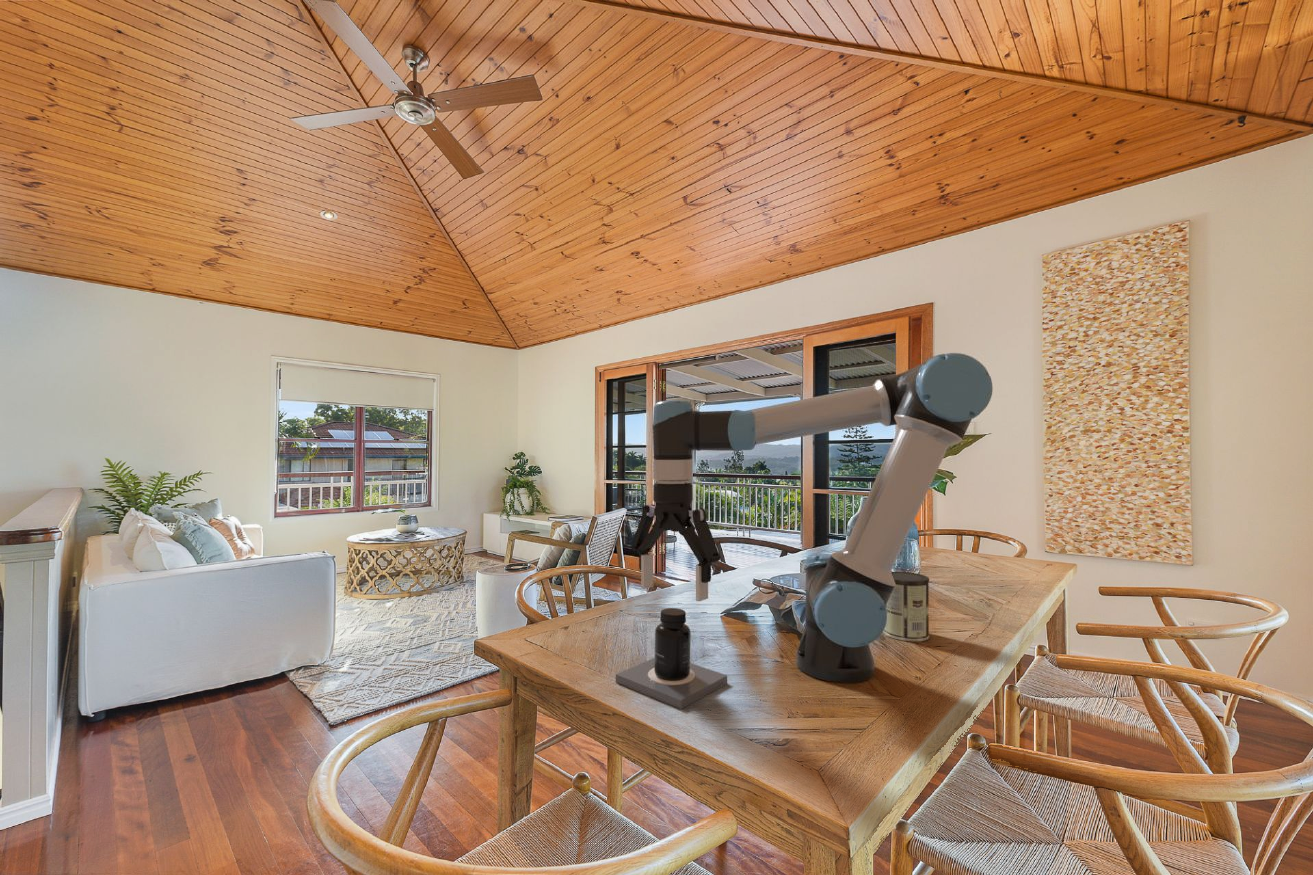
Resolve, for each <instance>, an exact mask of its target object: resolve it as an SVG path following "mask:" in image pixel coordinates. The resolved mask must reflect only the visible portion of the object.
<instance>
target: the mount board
mask: <svg viewBox="0 0 1313 875" xmlns="http://www.w3.org/2000/svg"><path fill="white" fill-rule="evenodd" d="M654 661H655V657H653V658H651V659H649V660H645V661H644V662H642V663H639V664H637V665H633V666H632V667H630V668H627V669H624V670H623V671H620V672H618V673H616V674H615V683H616V684H619V685H622V686H624V687H627V688H629V689H631V690H634V691H637V692H638V693H641V694H643V695H645V696H648V697H650V698H653V699H655V700H658V701H661V702H663V703H664V704H668V705H670V706H672V707H675V708H677V709H679V710H682V709H684V708H686V707H687V706H689V705H691V704H693V703H694V702H696V701H698V700H700V699H701V698H703V697H705V696H707V695H708V694H711V693H712V692H714V691H716V690H718V689H720V688H721V687H723V686H725V685H727V684H728V675H727V674H724V673H721V672H719V671H716V670H712V669H710V668H706V667H704V666H700V665H698V664H694V663H692V662H690V674H689V676H688V677H687V678H685V679H683V680H679V681H667V680H663V679H660V678H659V677H657V676H656V674H655V671H654Z"/></svg>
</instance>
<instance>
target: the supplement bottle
mask: <svg viewBox="0 0 1313 875" xmlns="http://www.w3.org/2000/svg"><path fill="white" fill-rule="evenodd" d="M686 614H687V613H686V611H685V610H684V609H682V608H677V607H668V608H663V609H662V610H660V623H659V624H658V625H657V626H656V628H655V630H654V658H655V661H654V671H655V674H656V676H657V677H659V678H660V679H663V680H667V681H679V680H683V679H685V678H687V677H688V676H689V674H690V663H691V637H692V636H691V634H692V633H691V628H690V627H689V626H688V625H687V624H686V622H687V618H686Z"/></svg>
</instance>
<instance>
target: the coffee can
mask: <svg viewBox="0 0 1313 875" xmlns="http://www.w3.org/2000/svg"><path fill="white" fill-rule="evenodd" d="M891 574H892V576H893V579H894V581H895V586H894V589H893V591H892V593H891V595H890V597H889V600H888V602H887V604H886V609H887V622H886V626H885V629H884V631H883V632H882V634H884V635H885V636H886V637H889V638H892V639H895V640H899V641H904V642H911V643H912V642H916V643H917V642H918V643H919V642H924V641H927V640H929V638H930V634H929V633H930V632H929V630H930V628H929V627H930V625H929V624H930V621H929V620H930V619H929V618H930V617H929V615H930V613H929V612H930V610H929V607H930V606H929V604H930V603H929V600H930V599H929V597H930V596H929V594H930V593H929V591H930V590H929V587H930V586H929V582H930V578H929V577H928V576H927V575H925V574H920V573H917V572H911V571H891Z"/></svg>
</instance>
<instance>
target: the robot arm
mask: <svg viewBox="0 0 1313 875" xmlns="http://www.w3.org/2000/svg"><path fill="white" fill-rule="evenodd" d="M993 390H994V389H993V380H992V377H991V375H990V374H989V371H988V370H987V368H986V367H985V365H983V363H981V362H980V361H979V360H977V359H976V358H974V357H973V356H970V355H968V354H965V353H961V352H949V353H948V352H947V353H941V354H937V355H935V356H934V355H933V356H932V357H930V358H928V359H927V360H926V361H924V362H922V363H920V364H917V365H916V366H914V367H912V368H910V369H908V370H906V371H904V372H900V373H899V374H895V375H892V376H888V377H884V378H879V379H876V380H875V382H874V383H873V384H872V385H869V386H864V387H859V388H855V389H849V390H844V391H840V392H835V393H830V394H828V393H827V394H824V395H818V396H814V397H808V398H803V399H798V400H794V401H793V400H792V401H788V402H783V403H779V404H778V403H777V404H773V405H769V406H763V407H757V408H753V409H748V410H739V409H734V410H711V411H707V410H706V411H700V410H699V411H697V410H694V409H693V405H692V402H691V401H688V400H661V401H657V402H656V403H654V406H653V418H652V427H651V428H652V448H653V449H652V454H653V456H652V457H653V459H652V476H653V477H652V479H653V480H654V481H655V483H654V484H652V486H653V487H652V488H653V489H652V490H653V492H652V493H653V494H652V495H653V496H652V498H653V502H655V504H652V503H651V504H645V505H643V506H642V510H641V518H640V520H639V523H638V525H637V526H638V527H637V529H636V531H635V534H634V537H633V539H632V542H631V544H630V548H631V550H632V551H636V552H637V554H638V569H639V571H640V577H641V578H640V580H641V581H640V587H641V588H640V589H643V590H645V589H648V588H652V587H654V553H652V552H653V551H652V549H653V547H654V546H655V544H656V543H657V542H658V540H659V539H660V537H661V536H662V534H663V533H664V531H666V532H667V531H671V532H674V533H679V534H680V535H681V536H682V537H683V538H684V540H685V542H686V543H687V545H688V547H689V548H690V550H691V552H692V553H693V555H694V556H695V558H696V559H697V562H698V563H697V564H695V602H701V601H704V600H708V599H709V582H711V581H712V564H713V563H716V562H720V561H721V558H722V557H721V555H720V552H719V550H718V547H717V545H716V542H715V539H714V536H713V534H712V531H711V529H710V526H709V524H708V521H707V513H706V509H704V508H699V509H692V506H691V504H692V502H693V495H694V494H693V484H692V483H691V482H690V481H691V480H693V451H697V452H698V451H714V452H716V451H717V452H719V451H723V452H724V451H729V452H732V451H735V452H742V451H751V450H753V449H755V447H756V445H757V446H758V445H763V444H767V443H774V442H780V441H785V440H790V439H795V438H800V437H806V436H812V435H818V434H824V433H829V432H836V431H839V430H841V431H842V430H845V429H846V430H847V429H851V428H856V427H861V426H862V427H863V426H866V425H868V426H869V425H873V424H874V425H875V424H881V425H882V426H884V427H890V426H891V427H892V426H897V432H896V434H895V436H894V438H893V440H892V442H891V444H890V446H889V449H888V452H887V454H886V456H885V457H884V460H883V463H882V464H881V466H880V469H879V471H878V474H877V476H876V477H875V480H874V482H873V484H872V487H871V489H870V491H869V493H868V495H867V497H866V500H865V502H864V504H863V507H862V508H861V511H860V513H859V515H858V518H857V519H856V521H855V523H854V527H853V528H852V531H851V532H850V535H849V537H848V540H847V542H846V543H845V546H844V548H843V549H840V550H838V551H835V552H832V553H814V554H813V553H812V554H809V555H808V556H806V559H805V566H804V571H805V626H804V631H803V633H802V636H801V638H800V642H799V643H798V644H799V645H798V646H797V647H798V648H797V651H796V666H797V667H798V669H799V670H800V671H802V672H803V673H804V674H806V675H808V676H810V677H813V678H816V679H818V680H822V681H827V682H834V683H842V684H843V683H844V684H845V683H846V684H847V683H849V684H853V683H854V684H855V683H860V682H861V683H862V682H865V681H868V680H871V679H872V678H873V677H874V676H875V660H874V657H873V656H874V655H873V654H872V650H871V648H870V644H872V643H873V642H875V641H877V639H879V637H880V636H881V635H882V634H883V631H884V629H885V626H886V622H887V609H886V604H887V602H888V600H889V597H890V595H891V593H892V591H893V589H894V586H895V581H894V579H893V576H892V574H891V572H892V570H893V567H894V566H895V563H896V561H897V560H898V557H899V555H900V553H901V550H902V549H903V546H904V544H905V541H906V540H907V537H908V535H909V533H910V531H911V528H912V527H913V524H914V522H915V520H916V518H917V515H918V513H919V511H920V509H921V507H922V505H923V503H924V500H925V498H926V496H927V494H928V492H929V489H930V487H931V485H932V483H933V481H934V479H935V477H936V474H937V472H938V470H939V469H940V467H941V466H940V465H941V463H942V461H943V459H944V457H945V455H946V453H947V451H948V448H949V447H951V446H953V445H956V444H959V443H961V442H962V441H963V438H964V436H965V435H966V432H967V431H968V428H969V426H970V425H971V421H972V420H973V419H975V418H977V417H978V416H980V415H981V413H983V411H985V410H986V408H987V407H988V405H989V404H990V401H991V400H992V396H993ZM655 518H656V519H655ZM654 520H655V521H654Z"/></svg>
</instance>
